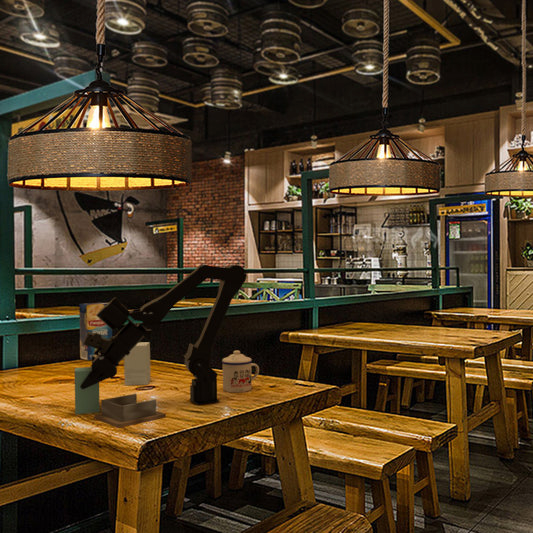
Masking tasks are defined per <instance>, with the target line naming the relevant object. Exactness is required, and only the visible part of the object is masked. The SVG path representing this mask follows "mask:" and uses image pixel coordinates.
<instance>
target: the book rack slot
mask: <svg viewBox="0 0 533 533" xmlns="http://www.w3.org/2000/svg"><path fill="white" fill-rule="evenodd" d="M137 395H138V394H137V393H131V394H127V395H121V396H116V397H115V396H114V397H110V398H104V399H101V400H100V401H101V402H100V404H101V405H100V409H101V410H100V411H101V413H96V414H94V415H93V418H94V419H95V420H97V421H101V422H102V423H106V424H108V425H110V426H113V427H116V428H118V429H119V428H123V427H128V426H132V425H137V424H141V423H147V422H150V421H155V420H159V419H163V418H166V413H164V412H160V411H158V410H157V399H156V398H155V399H151V400H145V401H140V402H137V399H138V397H137Z"/></svg>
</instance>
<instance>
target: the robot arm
mask: <svg viewBox="0 0 533 533" xmlns="http://www.w3.org/2000/svg"><path fill="white" fill-rule="evenodd" d="M208 279H209V280H216V281H219V283H218V291H217V296H216V298H215V300H214V302H213V304H212V307H211V309H210V312H209V314H208V316H207V319H206V321H205V323H204V327H203V329H202V330H201V333H200V336H199V338H198V340H197V341H196V342H195V344H192V343H189V344H188V348H187V352H186V353H185V354H184V355H183V357H184V358H185V359H184V365H185V367H186V369H187V371H188V372H190V374H191V375H192V376H193V377H194V378H192V379H191V384H190V385H189V395H190V397H189V401H190V402H191V403H194V404H196V405H197V406H200V405H207V404H213V403H214V404H215V403H220V402H221V400H220V399H218V379H217V378H218V373H217V372H216V371H215V370H214V369H213V368H212V367H210V366H211V360H212V354H213V348H214V344H215V341H216V339H217V336H218V334H219V332H220V329H221V326H222V324H223V322H224V320H225V317H226V314H227V312H228V310H229V307H230V306H231V302H232V301H233V298H234V297H235V296H236V295H237V293H238V292H239V291H240V290H241V288H242V287H243V285H244V283H245V282H246V279H247V272H246V269H245V268H244V267H243V266H242V265H239V264H229V265H226V266H225V267H224V266H216V265H215V266H214V265H208V264H200V265H198V266H197V267H196V268H195V269H194V270H193V271H191V273H188V275H186V276H185V277H184V278H183V279H182V280H181V281H179V282H177V284H175V285H174V286H173V287H171V289H169V290H168V291H166V293H164V294H162V295H160V296H158V297H156V298H155V299H152V300H150V301H148V302H147V303H144V304H143V305H142V306H141V307H140V308H137V309H130V310H129V309H127V307H125V306H124V305H123V304H122V303H121V301H120V300H119V299H118V298H117V297H114V298H113V299H111V300H110V301H109V302H107V303H108V304H107V305H105V306H104V307H103V308H102V309H101V310H100V311H99V312H98V313H97V315H96V316H97V317H98V318H100V319H101V320H102V321H103V322H104V323H105V324H106V325H107V326H108V327H109V328H110V329H112V330H114V329H116V330H119V331H118V332H117V334H115V335H112V337H111V338H110V339H106V338H104V337H102V336H101V334H98V333H95V334H94V333H92V332H88V333H87V336H86V338H85V340H84V342H83V344H84V345H86V346H91V347H93V348H96V350H95V351H94V352H93V354H94V355H95V354H96V355H97V356H96V357H94V356H93V355H92V360H91V365H90V367H92V370H91V371H90V373H89V374H88V375H87V377H86V378H85V380H84V381H83V383H82V384H81V386H80V388H82V389H85V388H87V387H90V386H92V385H94V384H96V383H98V382H99V383H101V382H102V381H106V380H108V379H113V378H114V377H115V376H116V375H117V374H118V367H119V365H120V364H119V363H121V362H122V360H124V357H125V356H126V355H127V356H128V355H129V354H130V351H131V350H132V349H133V348H134V347H135V346H136V345H137V344H138V343H140V342H142V340H143V338H144V337H145V338H146V340H148V341H149V342H150V341H152V340H153V339H152V338H153V337H152V334H153V330H152V329H150V328H149V329H147V328H146V327H145V326H147V327H155V326H157V325H159V324H160V323H161V322H162V321H163V320H164V319H165V317H166V316H167V315H168V314H169V312H170V311H171V310H172V308H173V307H174V306H175V305H176V304H177V303H179V302H180V301H181V300H182V299H184V298H185V297H186V296H188V294H190V293H191V292H192V291H194V290H195V289H196V288H197V287H198V286H200V285H201V284H202V283H203V282H205V281H206V280H208ZM129 317H130V318H131V319H133V320H131V319H130V318H129ZM127 321H128V322H127ZM133 321H138V323H137V324H136V323H134V322H133ZM126 322H127V323H126ZM140 322H142V323H143V324H144V325H145V326H144V325H142V324H141V323H140ZM123 325H124V326H123Z"/></svg>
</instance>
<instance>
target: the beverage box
mask: <svg viewBox="0 0 533 533" xmlns="http://www.w3.org/2000/svg"><path fill="white" fill-rule="evenodd" d="M108 303H109V302H93V303H92V302H89V303H79V304H78V305H79V306H78V307H79V312H78V313H79V358H80V359H82V360H86V361H92V355H93V356H94V357H96V356H97V355H96V354H95V355H94V354H93V352H94V351H95V350H96V348H93V347H91V346H86V345H84V344H83V342H84V340H85V338H86V336H87V333H88V332H92V333H94V334H95V333H98V334H101V336H102V337H104V338H106V339H110V338H111V337H113V329H110V328H109V327H108V326H107V325H106V324H105V323H104V322H103V321H102V320H101V319H100V318H98V317H97V316H96V315H97V313H98V312H99V311H100V310H101V309H102V308H103V307H104V306H105V305H107V304H108Z"/></svg>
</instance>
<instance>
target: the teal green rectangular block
mask: <svg viewBox="0 0 533 533" xmlns="http://www.w3.org/2000/svg"><path fill="white" fill-rule="evenodd" d="M91 370H92V367H91V366H87V367H75V368H74V415H85V414H100V411H101V410H100V409H101V405H100V404H101V402H100V382H98V383H96V384H94V385H92V386H90V387H87V388H85V389H82V388H80V386H81V384H82V383H83V381H84V380H85V378H86V377H87V375H88V374H89V373H90V371H91Z"/></svg>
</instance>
